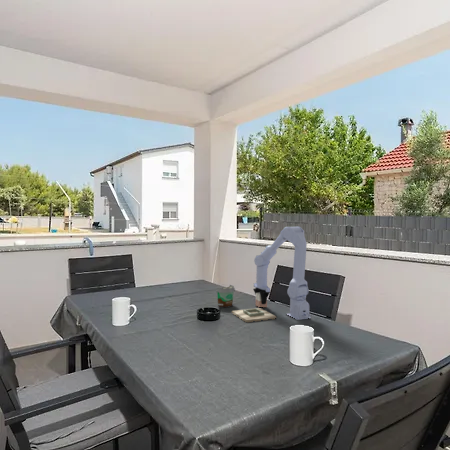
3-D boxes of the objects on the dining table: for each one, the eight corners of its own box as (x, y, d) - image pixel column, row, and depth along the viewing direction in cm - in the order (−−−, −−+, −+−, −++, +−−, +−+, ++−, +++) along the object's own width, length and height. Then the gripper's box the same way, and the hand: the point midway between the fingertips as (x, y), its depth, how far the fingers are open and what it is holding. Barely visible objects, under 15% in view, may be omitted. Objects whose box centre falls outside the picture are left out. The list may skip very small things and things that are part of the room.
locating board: (276, 318, 171) (276, 313, 171) (246, 322, 165) (246, 317, 165) (260, 310, 186) (260, 305, 186) (231, 313, 179) (231, 308, 179)
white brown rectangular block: (267, 307, 192) (267, 293, 191) (259, 307, 190) (259, 294, 190) (262, 304, 196) (263, 292, 195) (255, 305, 194) (255, 292, 194)
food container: (225, 309, 187) (225, 289, 187) (216, 306, 191) (216, 288, 190) (239, 304, 197) (239, 286, 196) (230, 302, 201) (230, 284, 200)
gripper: (248, 275, 197) (248, 300, 198) (261, 280, 184) (261, 306, 184) (260, 274, 200) (259, 299, 201) (273, 279, 187) (273, 305, 187)
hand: (261, 302), depth 193 cm, fingers closed on white brown rectangular block, 4 cm apart
